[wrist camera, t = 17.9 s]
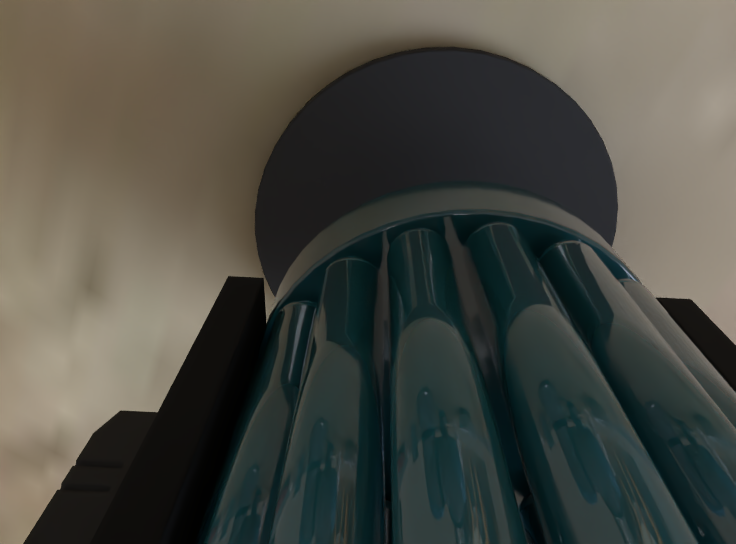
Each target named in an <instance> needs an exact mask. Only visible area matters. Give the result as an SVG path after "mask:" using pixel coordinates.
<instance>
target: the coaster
mask: <svg viewBox="0 0 736 544" xmlns="http://www.w3.org/2000/svg"><path fill="white" fill-rule="evenodd" d="M442 181H480V182H490V183H499V184H504V185H508V186H512V187H517V188H521V189H525V190H528V191H531V192H533V193H536V194H539V195H541V196H544V197H546V198H549V199H551V200H553V201H555V202H557V203H559V204H560V205H562V206H564V207H566V208H568V209H569V210H571V211H573V212H574V213H576V214H577V215H578V216H580V217H581V218H582V219H583V220H585V221H586V222H587V223H589V224H590V225H591V226H592V227H593V228H594V229H595V230H596V231H597V232H598V233H599V234H600V235H601V236H602V237H603V238H604V239H605V240H606V241H607V243H608V244H609V245H610V246H611V247H612V245H613V240H614V236H615V232H616V223H617V211H618V202H617V187H616V181H615V176H614V172H613V167H612V163H611V160H610V157H609V155H608V152H607V150H606V147H605V145H604V142H603V140H602V138H601V137H600V135H599V133H598V132H597V130H596V128H595V126H594V125H593V123H592V121H591V120H590V119H589V117H588V116H587V115H586V114H585V113H584V111H583V110H582V109H581V108H580V107H579V105H578V104H577V103H576V102H575V101H574V100H573V99H572V98H571V97H570V96H569V95H567V94H566V93H565V92H564V91H563V90H562V89H561V88H559V87H558V86H557V85H556V84H554V83H553V82H551V81H550V80H548V79H547V78H545V77H543V76H542V75H540V74H539V73H537V72H536V71H534V70H532V69H531V68H529V67H527V66H524V65H522V64H520V63H518V62H515V61H513V60H511V59H509V58H506V57H503V56H499V55H495V54H492V53H488V52H485V51H481V50H473V49H465V48H457V47H432V48H421V49H415V50H408V51H402V52H398V53H394V54H391V55H388V56H385V57H381V58H378V59H375V60H372V61H370V62H368V63H366V64H364V65H361V66H359V67H357V68H355V69H353V70H351V71H349V72H347V73H346V74H344V75H343V76H341V77H339V78H338V79H336V80H335V81H333V82H332V83H330V84H329V85H327V86H326V87H325V88H324V89H322V90H321V91H320V92H319V93H318V94H317V95H315V96H314V97H313V98H312V99H311V100H310V101H308V102H307V104H306V105H305V106H304V107H303V108H302V109H301V110H300V112H299V113H298V114H297V115H296V116H295V117H294V118H293V119H292V121H291V122H290V124H289V125H288V127H287V128H286V130H285V131H284V133H283V134H282V136H281V137H280V139H279V140H278V142H277V144H276V145H275V147H274V149H273V151H272V154H271V156H270V158H269V160H268V162H267V164H266V166H265V169H264V173H263V176H262V179H261V182H260V186H259V189H258V196H257V202H256V209H255V236H256V243H257V250H258V255H259V259H260V262H261V266H262V269H263V273H264V275H265V277H266V280H267V282H268V284H269V286H270V289H271V291H272V293H273V294H274V296H275V298H276V295H277V292H278V289H279V286H280V284H281V283H282V281H283V279H284V277H285V275H286V273H287V271H288V269H289V268H290V266H291V265H292V264H293V262H294V261H295V259H296V258H297V257H298V255H299V254H300V253H301V251H302V250H303V249H304V248H305V247H306V246H307V245H308V244H309V243H310V242H311V241H312V240H313V239H314V238H315V237H316V236H317V235H318V234H319V233H320V232H321V231H322V230H323V229H325V228H326V227H327V226H329V225H330V224H331V223H333V222H334V221H335V220H337V219H338V218H339V217H340V216H342V215H344V214H346V213H347V212H349V211H351V210H353V209H354V208H356V207H358V206H360V205H361V204H363V203H365V202H368V201H370V200H373V199H375V198H377V197H380V196H382V195H385V194H387V193H390V192H394V191H397V190H401V189H404V188H408V187H412V186H415V185H422V184H429V183H436V182H442Z"/></svg>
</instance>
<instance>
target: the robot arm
mask: <svg viewBox="0 0 736 544" xmlns="http://www.w3.org/2000/svg"><path fill="white" fill-rule="evenodd" d="M656 299H657V300H658V301H659V303H660V304H661V305H662V306H663V307H664V308H665V310H666V311H667V312H668V313H669V314H670V315H671V317H672V318H673V319H674V320H675V321H676V322H677V324H678V325H679V326H680V327H681V328H682V329H683V330H684V332H685V333H686V334H687V335H688V336H689V337H690V339H691V340H692V341H693V342H694V343H695V344H696V346H697V347H698V348H699V349H700V350H701V351H702V353H703V354H704V355H705V356H706V357H707V358H708V359H709V361H710V362H711V363H712V364H713V365H714V366H715V368H716V369H717V370H718V371H719V372H720V373H721V375H722V376H723V377H724V378H725V379H726V380H727V382H728V383H729V384H730V385H731V386H732V387H733V388H734V390H735V391H736V345H735V344H734V343H733V342H732V341H731V340H730V339H729V338H728V337H727V336H726V335H725V334H724V333H723V332H722V331H721V330H720V329H719V328H718V327H717V326H716V325H715V324H714V323H713V322H712V321H711V320H710V318H709V317H708V316H707V315H706V314H705V313H704V312H703V311H702V310H701V309H700V308H699V307H698V306H697V305H696V304H695V303H694V302H693V301H692V300H691V299H676V298H656ZM265 327H266V310H265V293H264V278H253V277H233V276H228V278H227V280H226V282H225V284H224V286H223V288H222V290H221V292H220V293H219V295H218V297H217V299H216V301H215V303H214V305H213V307H212V309H211V311H210V313H209V315H208V317H207V319H206V320H205V322H204V324H203V326H202V328H201V330H200V332H199V334H198V336H197V338H196V340H195V342H194V344H193V346H192V347H191V349H190V351H189V353H188V355H187V357H186V359H185V361H184V363H183V365H182V367H181V369H180V371H179V373H178V374H177V376H176V378H175V380H174V382H173V384H172V386H171V388H170V390H169V392H168V394H167V396H166V398H165V400H164V401H163V403H162V405H161V407H160V409H159V411H158V412H138V411H120V412H118V413H117V414H116V415H115V416H114V417H112V418H111V419H110V420H109V421H108V422H106V423H105V424H104V425H103V426H102V427H100V428H99V429H98V430H97V431H96V432H94V433H93V435H92V436H91V438H90V440H89V441H88V443H87V444H86V446H85V447H84V449H83V451H82V452H81V454H80V455H79V457H78V458H77V460H76V465H75V466H72V468H71V469H70V471H69V473H68V474H67V476H66V477H65V479H64V480H63V482H62V484H61V485H62V486H61V489H60V490H57V491H56V493H55V495H54V496H53V498H52V499H51V501H50V502H49V504H48V506H47V507H46V509H45V510H44V512H43V513H42V515H41V517H40V518H39V520H38V521H37V523H36V524H35V526H34V528H33V529H32V531H31V532H30V534H29V535H28V537H27V539H26V540H25V542H24V543H23V544H195V541H196V537H197V534H198V531H199V528H200V525H201V522H202V519H203V516H204V513H205V510H206V507H207V504H208V501H209V498H210V495H211V492H212V489H213V486H214V483H215V480H216V477H217V474H218V471H219V468H220V465H221V462H222V459H223V456H224V453H225V450H226V447H227V444H228V441H229V438H230V435H231V432H232V429H233V426H234V423H235V420H236V417H237V414H238V411H239V408H240V405H241V402H242V399H243V395H244V392H245V389H246V386H247V383H248V380H249V377H250V374H251V371H252V369H253V367H254V365H255V363H256V362H257V357H258V351H259V345H260V342H261V339H262V336H263V333H264V330H265Z"/></svg>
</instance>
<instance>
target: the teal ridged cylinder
mask: <svg viewBox="0 0 736 544" xmlns="http://www.w3.org/2000/svg"><path fill="white" fill-rule="evenodd" d="M195 544H736V391H735V390H734V388H733V387H732V386H731V385H730V384H729V383H728V382H727V380H726V379H725V378H724V377H723V376H722V375H721V373H720V372H719V371H718V370H717V369H716V368H715V366H714V365H713V364H712V363H711V362H710V361H709V359H708V358H707V357H706V356H705V355H704V354H703V353H702V351H701V350H700V349H699V348H698V347H697V346H696V344H695V343H694V342H693V341H692V340H691V339H690V337H689V336H688V335H687V334H686V333H685V332H684V330H683V329H682V328H681V327H680V326H679V325H678V324H677V322H676V321H675V320H674V319H673V318H672V317H671V315H670V314H669V313H668V312H667V311H666V310H665V308H664V307H663V306H662V305H661V304H660V303H659V301H658V300H657V299H656V298H655V297H654V296H653V295H652V293H651V292H650V291H649V290H648V289H647V288H646V287H645V286H644V285H642V283H641V282H640V280H639V278H638V277H637V276H636V275H635V274H634V273H633V271H632V270H631V269H630V268H629V267H628V266H627V265H626V263H625V262H624V261H623V260H622V259H621V258H620V256H619V255H618V254H617V253H616V252H615V251H614V249H613V248H612V247H611V246H610V245H609V244H608V243H607V241H606V240H605V239H604V238H603V237H602V236H601V235H600V234H599V233H598V232H597V231H596V230H595V229H594V228H593V227H592V226H591V225H590V224H589V223H587V222H586V221H585V220H583V219H582V218H581V217H580V216H578V215H577V214H576V213H574V212H573V211H571V210H569V209H568V208H566V207H564V206H562V205H560V204H559V203H557V202H555V201H553V200H551V199H549V198H546V197H544V196H541V195H539V194H536V193H533V192H531V191H528V190H525V189H521V188H517V187H512V186H508V185H504V184H499V183H490V182H480V181H442V182H436V183H429V184H422V185H415V186H412V187H408V188H404V189H401V190H397V191H394V192H390V193H387V194H385V195H382V196H380V197H377V198H375V199H373V200H370V201H368V202H365V203H363V204H361V205H360V206H358V207H356V208H354V209H353V210H351V211H349V212H347V213H346V214H344V215H342V216H340V217H339V218H338V219H337V220H335V221H334V222H333V223H331V224H330V225H329V226H327V227H326V228H325V229H323V230H322V231H321V232H320V233H319V234H318V235H317V236H316V237H315V238H314V239H313V240H312V241H311V242H310V243H309V244H308V245H307V246H306V247H305V248H304V249H303V250H302V251H301V253H300V254H299V255H298V257H297V258H296V259H295V261H294V262H293V264H292V265H291V266H290V268H289V269H288V271H287V273H286V275H285V277H284V279H283V281H282V283H281V284H280V286H279V289H278V292H277V295H276V298H275V300H274V303H273V306H272V309H271V312H270V315H269V318H268V321H267V324H266V327H265V330H264V333H263V336H262V339H261V342H260V345H259V351H258V357H257V362H256V363H255V365H254V367H253V369H252V371H251V374H250V377H249V380H248V383H247V386H246V389H245V392H244V395H243V399H242V402H241V405H240V408H239V411H238V414H237V417H236V420H235V423H234V426H233V429H232V432H231V435H230V438H229V441H228V444H227V447H226V450H225V453H224V456H223V459H222V462H221V465H220V468H219V471H218V474H217V477H216V480H215V483H214V486H213V489H212V492H211V495H210V498H209V501H208V504H207V507H206V510H205V513H204V516H203V519H202V522H201V525H200V528H199V531H198V534H197V537H196V541H195Z"/></svg>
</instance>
